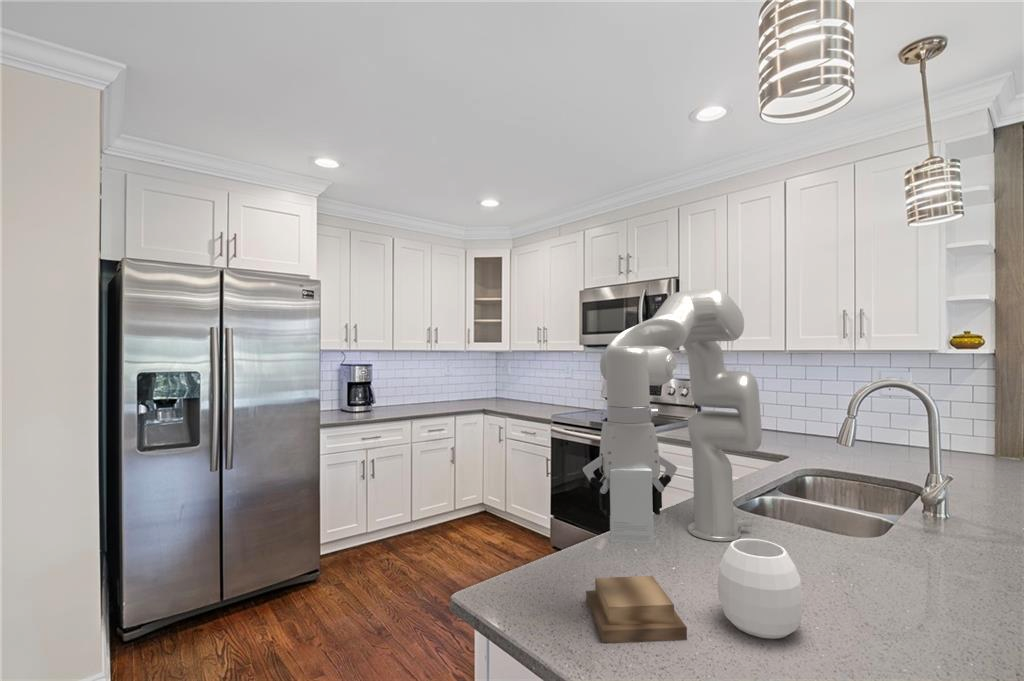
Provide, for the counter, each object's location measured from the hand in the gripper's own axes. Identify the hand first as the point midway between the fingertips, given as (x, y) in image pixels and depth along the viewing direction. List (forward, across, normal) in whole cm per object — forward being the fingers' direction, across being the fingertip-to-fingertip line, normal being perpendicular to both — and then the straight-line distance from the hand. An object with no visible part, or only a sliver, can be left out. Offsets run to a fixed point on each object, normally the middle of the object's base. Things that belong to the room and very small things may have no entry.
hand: (630, 512), depth 90 cm
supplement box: (+4, 0, 0) cm, 4 cm away
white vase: (+19, -21, +4) cm, 29 cm away
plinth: (+19, 0, 0) cm, 19 cm away
